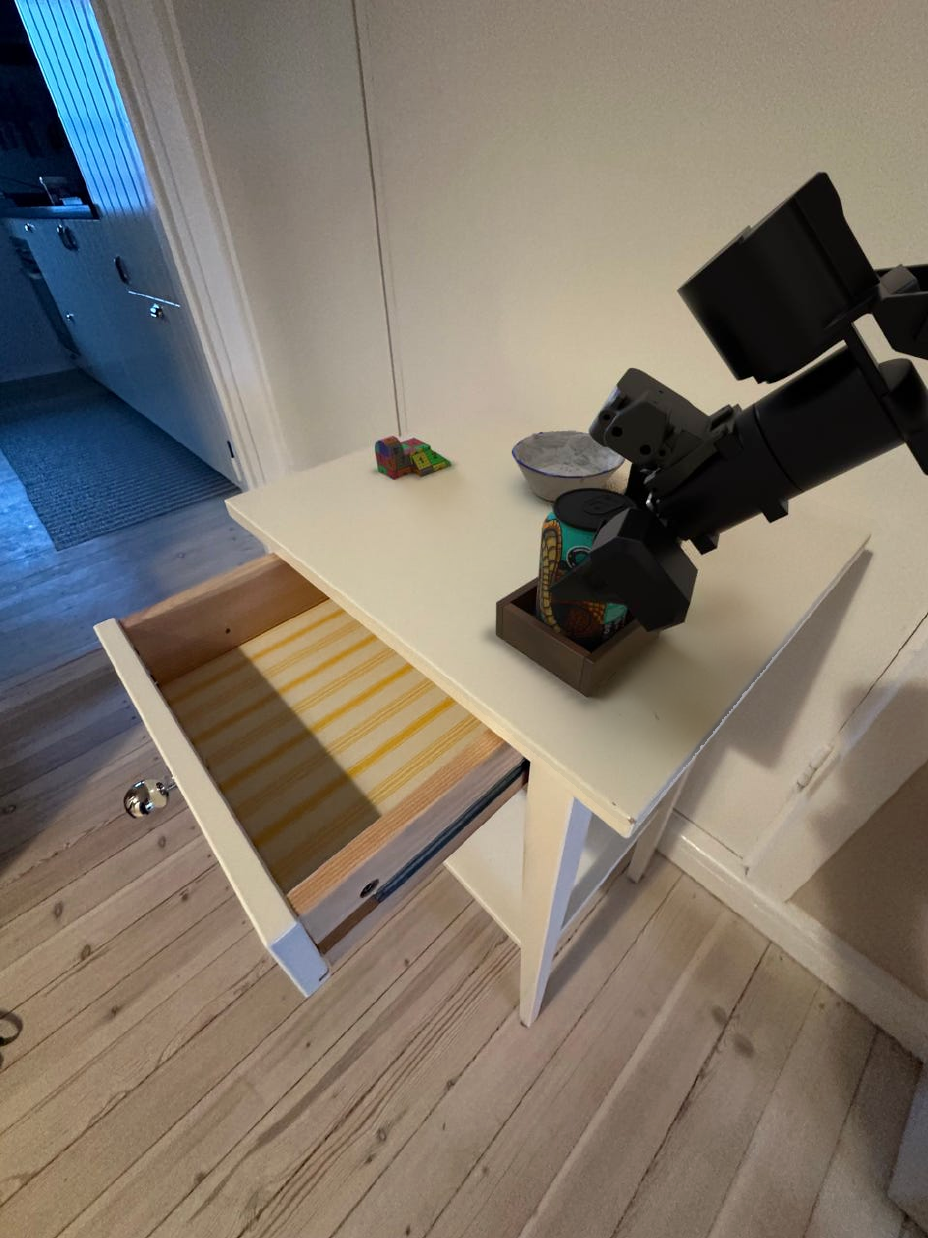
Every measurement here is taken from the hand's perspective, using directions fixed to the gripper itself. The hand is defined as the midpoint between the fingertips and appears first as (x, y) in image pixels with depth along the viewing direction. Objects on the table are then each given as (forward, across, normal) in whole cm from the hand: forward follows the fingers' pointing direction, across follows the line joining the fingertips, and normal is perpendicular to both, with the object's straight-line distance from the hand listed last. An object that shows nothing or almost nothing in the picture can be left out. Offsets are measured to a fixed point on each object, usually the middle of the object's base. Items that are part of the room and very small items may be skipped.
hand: (568, 566), depth 40 cm
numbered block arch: (+24, -24, -14) cm, 37 cm away
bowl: (+10, -25, 0) cm, 27 cm away
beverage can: (+4, 0, +6) cm, 7 cm away
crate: (+4, 0, +6) cm, 7 cm away
